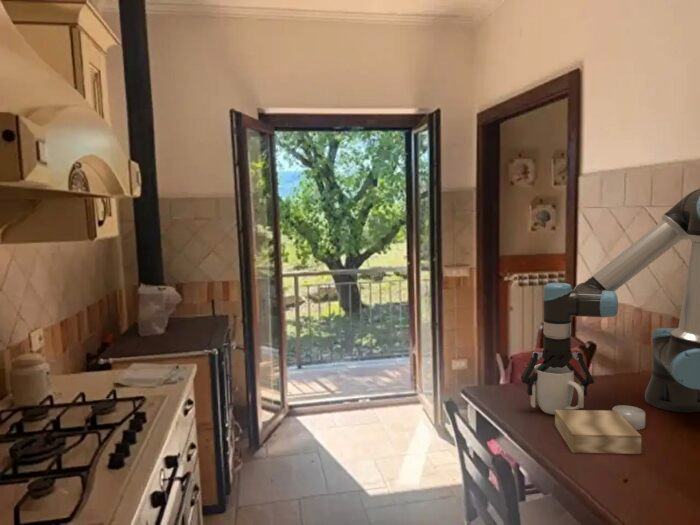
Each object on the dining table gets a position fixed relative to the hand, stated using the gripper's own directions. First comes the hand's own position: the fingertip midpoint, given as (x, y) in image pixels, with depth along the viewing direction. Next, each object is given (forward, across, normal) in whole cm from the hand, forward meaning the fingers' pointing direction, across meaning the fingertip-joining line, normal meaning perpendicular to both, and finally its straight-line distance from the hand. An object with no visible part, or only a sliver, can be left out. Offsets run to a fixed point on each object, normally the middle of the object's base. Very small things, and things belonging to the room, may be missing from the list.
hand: (556, 406), depth 152 cm
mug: (+2, 0, 0) cm, 2 cm away
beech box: (+2, -5, +18) cm, 19 cm away
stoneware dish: (+2, -17, +8) cm, 19 cm away
